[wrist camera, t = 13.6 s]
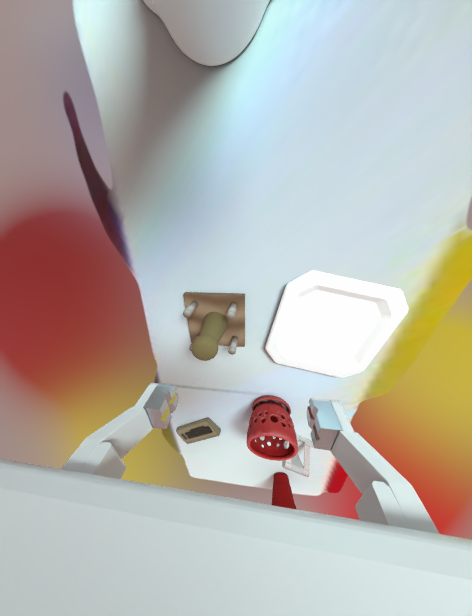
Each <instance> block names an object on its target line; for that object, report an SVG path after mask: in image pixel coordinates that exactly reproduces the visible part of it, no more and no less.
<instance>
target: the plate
mask: <svg viewBox="0 0 472 616" xmlns="http://www.w3.org/2000/svg"><path fill="white" fill-rule="evenodd" d="M407 313H408V306H407V303H406V300H405V297H404V294H403V291H402V290H400V289H398V288H394V287H389V286H384V285H380V284H375V283H370V282H366V281H361V280H356V279H352V278H347V277H342V276H338V275H333V274H328V273H324V272H319V271H314V270H313V271H309V272H307V273H305V274H303V275H302V276H300V277H298V278H296V279H294V280H293V281H291V282H289V283H288V284H287V285H286V287H285V290H284V293H283V296H282V299H281V302H280V305H279V308H278V311H277V314H276V317H275V320H274V323H273V325H272V328H271V331H270V334H269V337H268V340H267V343H266V346H265V349H266V351H267V352H268V354H269V355H270V356H271V358H272V359H273V361H274V362H276V363H278V364H282V365H287V366H291V367H295V368H300V369H304V370H308V371H313V372H317V373H322V374H326V375H330V376H335V377H339V378H344V377H347V376H350V375H353V374H357V373H360V372H362V371H364V370H365V369H366V367H367V366H368V365H369V363H370V362H371V361H372V359H373V358H374V357H375V355H376V354H377V353H378V351H379V350H380V349H381V347H382V346H383V345H384V343H385V342H386V341H387V339H388V338H389V337H390V335H391V334H392V333H393V331H394V330H395V329H396V327H397V326H398V325H399V323H400V322H401V321H402V319H403V318H404V317H405V315H406V314H407Z"/></svg>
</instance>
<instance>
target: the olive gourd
mask: <svg viewBox="0 0 472 616" xmlns="http://www.w3.org/2000/svg"><path fill="white" fill-rule="evenodd" d="M227 326H228V321H227V318H226V317H225V316H224V315H223V314H221V313H219V312H210V313H208V314H206V316H205V317H204V320H203V324H202V327H201V330H200V333H199V336H197V337H196V338H195V339H194V340H193V342H192V346H191V349H192V353H193V355H194V356H195V357H196V358H198V359H200V360H205V361H206V360H210V359H212V358H214V357H215V355H216V354H217V351H218V343H219V341H220V339H221V337H222V336H223V334H224V332H225V331H226V329H227Z"/></svg>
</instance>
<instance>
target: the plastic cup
mask: <svg viewBox="0 0 472 616" xmlns="http://www.w3.org/2000/svg"><path fill="white" fill-rule="evenodd" d="M272 496H273V497H272V505H273V506H279V507H285V508H291V509H296V506H295V504H294V500H293V495H292V491H291V487H290V484H289V479H288V476H287V475H286V474H285V473H281V472H278V473H275V474H274V482H273V495H272Z"/></svg>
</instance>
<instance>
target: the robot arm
mask: <svg viewBox="0 0 472 616" xmlns="http://www.w3.org/2000/svg"><path fill="white" fill-rule="evenodd" d="M143 1H144V3H145V4H146V5H147V6H148V7H149V8H150V9H151V10H152V11H153V12H154V13H155V14H157V15H158V16H159V17H160V18H161V19H162V21H163V22H164V24H165V25H166V27H167V29H168V31H169V33H170V35H171V37H172V38H173V40H174V42H175V43H176V44H177V46H178V47H179V48H180V49H181V51H182V52H183V53H184V54H185V55H186V56H188V57H189V58H190V59H192V60H193V61H195V62H197V63H199V64H202V65H207V66H217V65H221V64H224V63H227V62H229V61H230V60H232V59H234V58H235V57H236V56H237V55H239V54H240V53H241V52H242V51H243V50H244V48H245V47H246V46H247V45H248V44H249V42H250V41H251V39H252V38H253V36H254V34H255V32H256V31H257V29H258V27H259V24H260V22H261V20H262V17H263V15H264V12H265V10H266V8H267V5H268V3H269V1H270V0H143ZM175 391H176V387H175V385H166V384H158V383H151V384H150V385H149V386H148V387H147V389H146V390H145V392H144V393H143V394H142V396H141V397H140V399H139V400H138V402H137V403H136V405H135V406H134V407H131V408H129V409H128V410H126V411H125V412H123V413H122V414H121V415H119V416H118V417H116V418H115V419H113V420H112V421H110V422H109V423H107V424H106V425H105V426H103V427H102V428H100V429H99V430H97V431H96V432H94V433H93V434H91V435H90V436H89V437H87V438H86V439H85V440H84V441H83V443H82V444H81V445H80V446H79V447H78V449H77V450H76V451H75V452H74V454H73V455H72V456H71V457H70V459H69V460H68V461H67V462H66V464H65V465H64V466H63V467H62V469H58V468H52V467H46V466H40V465H34V464H28V463H22V462H17V461H11V460H6V459H0V616H472V540H471V539H465V538H459V537H454V536H448V535H441V534H439V532H438V531H437V528H436V527H435V525H434V523H433V521H432V520H431V518H430V516H429V515H428V513H427V511H426V510H425V508H424V506H423V504H422V502H421V501H420V499H419V497H418V495H417V494H416V492H415V490H414V489H413V487H412V485H411V484H410V483H409V482H408V481H407V480H405V478H404V477H403V476H401V475H400V474H399V473H398V472H397V471H396V470H395V469H394V468H393V467H392V466H391V465H390V464H389V463H388V462H387V461H386V460H385V459H384V458H383V457H382V456H381V455H380V454H379V453H378V452H377V451H376V450H375V449H374V448H373V447H372V446H370V445H369V444H368V443H367V442H366V441H365V440H364V439H363V438H362V437H361V436H360V435H359V434H358V433H355V432H354V430H353V428H352V426H351V424H350V422H349V419H348V417H347V415H346V413H345V411H344V408H343V406H342V404H341V402H340V401H338V400H328V399H316V398H310V400H309V404H310V406H309V407H308V408H307V421H308V425H309V426H310V428H311V429H312V431H311V438H312V442H313V446H314V448H317V449H324V450H330V451H331V452H332V454H333V455H334V456H335V458H336V459H337V461H338V462H339V463H340V465H341V466H342V467H343V469H344V470H345V472H346V473H347V474H348V476H349V477H350V478H351V480H352V481H353V482H354V484H355V485H356V486H357V488H358V489H359V491H360V492H361V493H362V495H363V496H362V497H361V498H360V500H359V501H358V502H357V504H356V506H355V507H356V510H357V513H358V516H359V519H360V520H354V519H349V518H342V517H337V516H331V515H326V514H320V513H314V512H308V511H302V510H297V509H291V508H285V507H279V506H273V505H267V504H262V503H256V502H249V501H244V500H238V499H233V498H227V497H221V496H215V495H209V494H203V493H197V492H192V491H186V490H180V489H174V488H168V487H163V486H157V485H151V484H145V483H138V482H133V481H127V480H122V479H121V477H122V475H123V473H124V472H125V470H126V466H125V464H124V463H123V461H122V460H121V459H122V458H123V457H124V456H125V455H126V454H127V453H128V452H129V451H130V450H131V449H132V448H133V447H134V446H135V445H136V444H137V443H138V442H139V441H140V440H142V439H143V438H144V437H145V436H146V435H147V434H148V433H149V432H150V431H151V430H152V428H161V429H167V426H168V424H169V422H170V420H171V418H172V417H171V413H172V412H173V411H174V410H175V409H176V406H177V403H178V394H177V393H176V392H175Z"/></svg>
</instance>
